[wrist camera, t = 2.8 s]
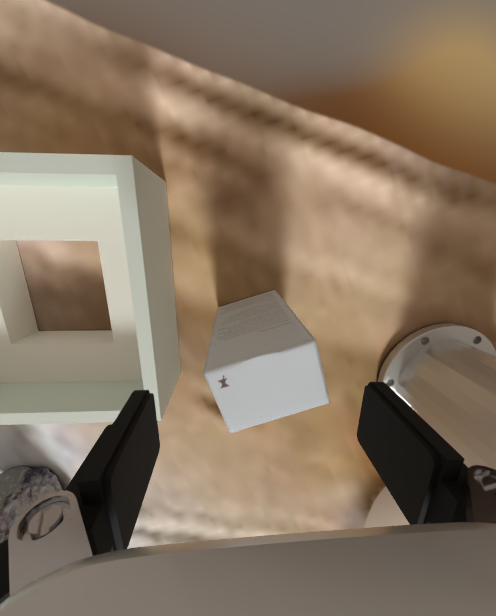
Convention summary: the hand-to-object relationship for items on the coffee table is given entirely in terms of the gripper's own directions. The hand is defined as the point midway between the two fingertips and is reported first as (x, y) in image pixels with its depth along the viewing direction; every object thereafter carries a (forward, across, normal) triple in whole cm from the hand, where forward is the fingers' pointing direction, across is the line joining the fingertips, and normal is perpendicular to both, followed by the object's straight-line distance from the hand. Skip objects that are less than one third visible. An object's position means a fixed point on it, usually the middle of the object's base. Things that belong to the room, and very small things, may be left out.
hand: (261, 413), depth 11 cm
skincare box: (+14, -1, 0) cm, 14 cm away
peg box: (+14, +16, -3) cm, 21 cm away
